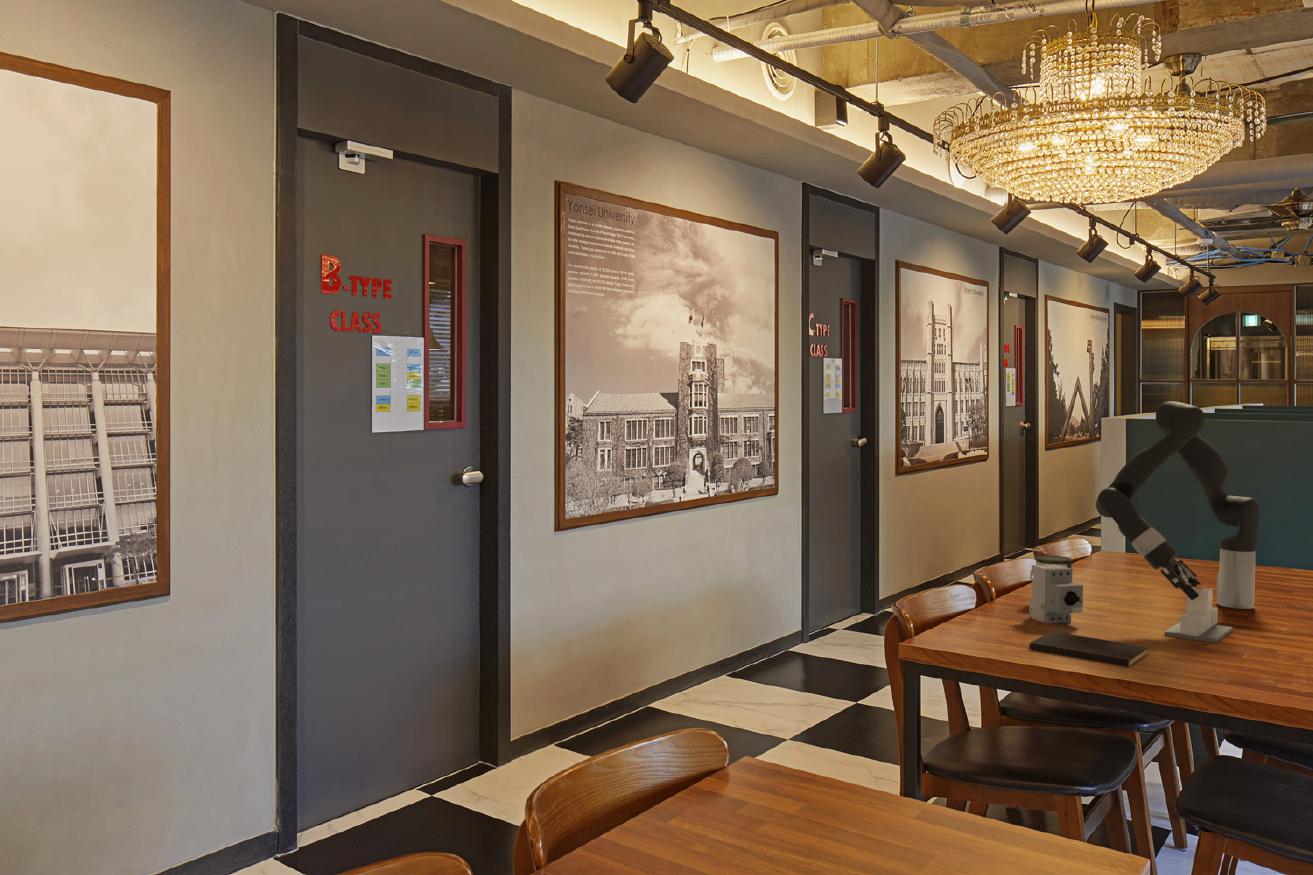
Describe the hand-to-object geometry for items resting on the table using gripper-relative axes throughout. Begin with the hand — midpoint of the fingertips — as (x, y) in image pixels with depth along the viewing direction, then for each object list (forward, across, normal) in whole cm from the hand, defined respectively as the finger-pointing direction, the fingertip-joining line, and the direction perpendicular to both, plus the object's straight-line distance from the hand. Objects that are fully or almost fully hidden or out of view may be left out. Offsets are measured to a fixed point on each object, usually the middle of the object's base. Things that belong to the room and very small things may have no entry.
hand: (1199, 595), depth 256 cm
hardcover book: (-3, -41, +18) cm, 45 cm away
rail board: (+7, 0, +7) cm, 10 cm away
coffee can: (-22, +11, +37) cm, 45 cm away
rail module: (+6, 0, +6) cm, 8 cm away
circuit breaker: (-16, -13, +30) cm, 36 cm away
